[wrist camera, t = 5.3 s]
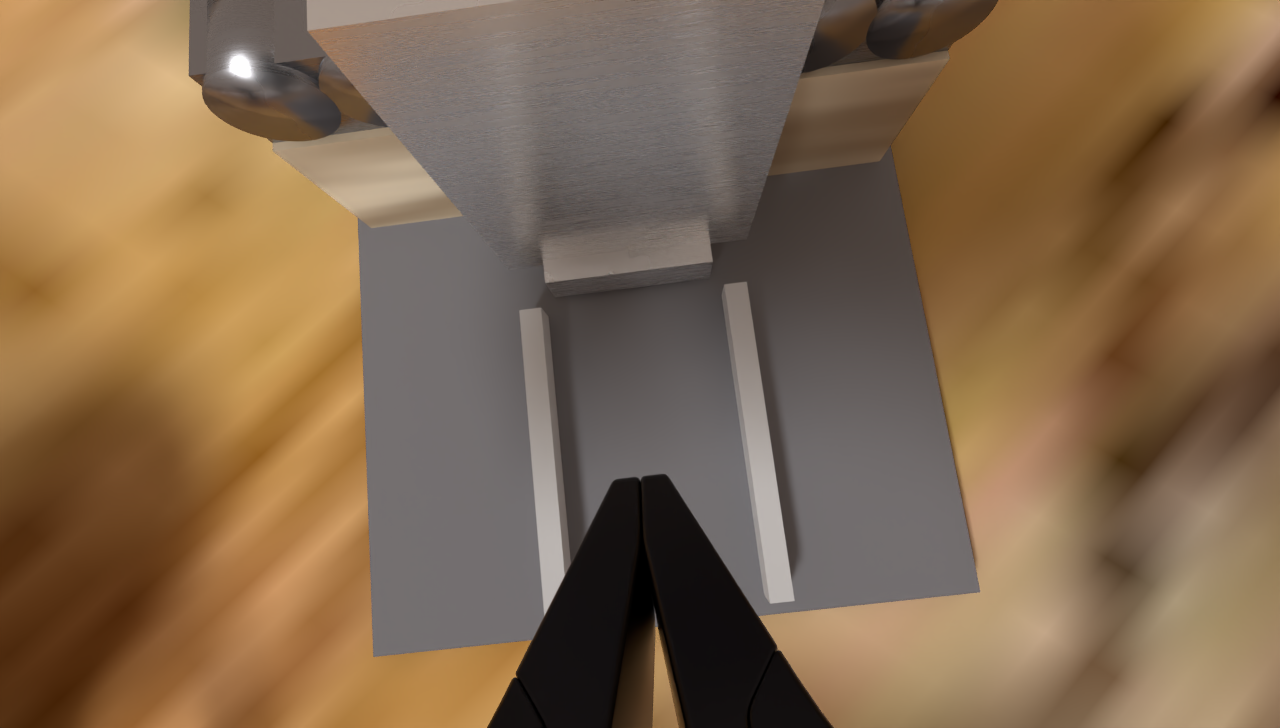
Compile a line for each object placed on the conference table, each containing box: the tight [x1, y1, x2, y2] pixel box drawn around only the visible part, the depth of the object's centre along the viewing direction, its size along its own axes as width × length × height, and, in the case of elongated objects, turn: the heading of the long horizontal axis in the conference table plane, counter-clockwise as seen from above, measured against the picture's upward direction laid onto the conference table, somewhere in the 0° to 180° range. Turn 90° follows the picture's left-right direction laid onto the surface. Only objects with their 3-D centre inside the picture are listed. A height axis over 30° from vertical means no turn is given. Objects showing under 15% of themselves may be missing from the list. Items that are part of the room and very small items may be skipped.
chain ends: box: [189, 0, 998, 143], centre depth 12 cm, size 2×16×3 cm, turn 97°
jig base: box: [358, 145, 980, 657], centre depth 17 cm, size 15×16×2 cm
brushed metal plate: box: [307, 0, 825, 298], centre depth 13 cm, size 6×6×10 cm
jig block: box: [273, 50, 950, 228], centre depth 16 cm, size 2×15×4 cm, turn 97°
